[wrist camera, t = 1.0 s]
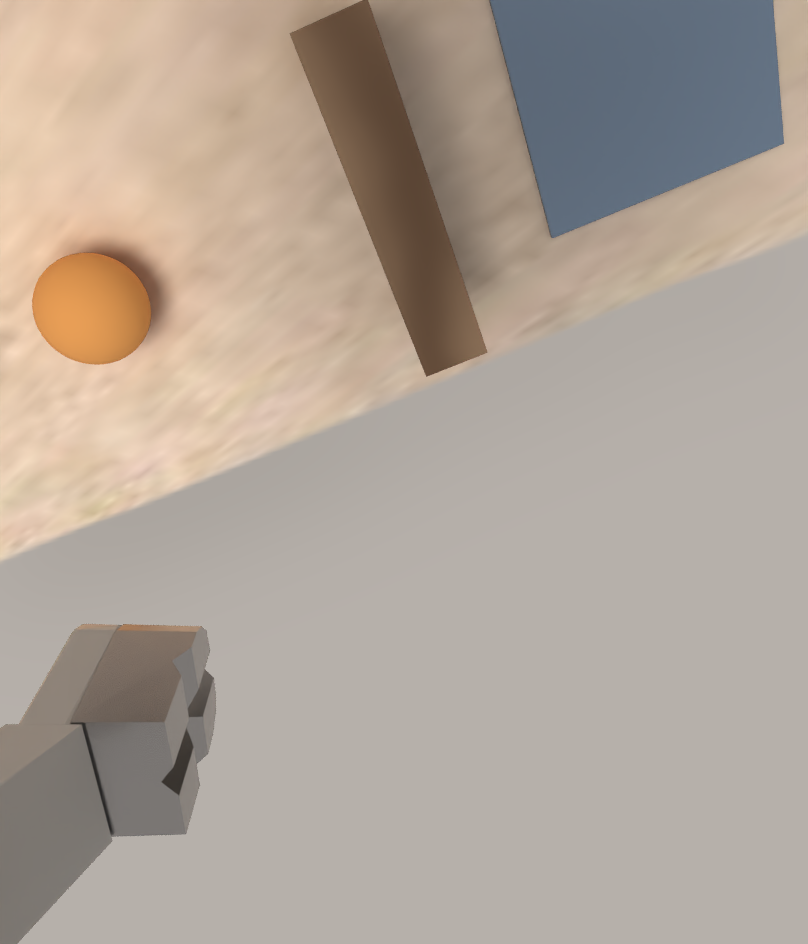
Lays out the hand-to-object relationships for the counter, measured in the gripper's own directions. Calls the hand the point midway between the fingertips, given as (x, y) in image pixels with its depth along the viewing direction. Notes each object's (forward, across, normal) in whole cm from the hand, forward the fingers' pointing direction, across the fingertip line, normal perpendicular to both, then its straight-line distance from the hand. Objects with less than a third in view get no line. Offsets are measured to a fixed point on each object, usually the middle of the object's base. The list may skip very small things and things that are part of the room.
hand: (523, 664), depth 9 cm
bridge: (+33, +2, -2) cm, 33 cm away
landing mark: (+34, -11, -8) cm, 36 cm away
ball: (+29, +17, +4) cm, 34 cm away
